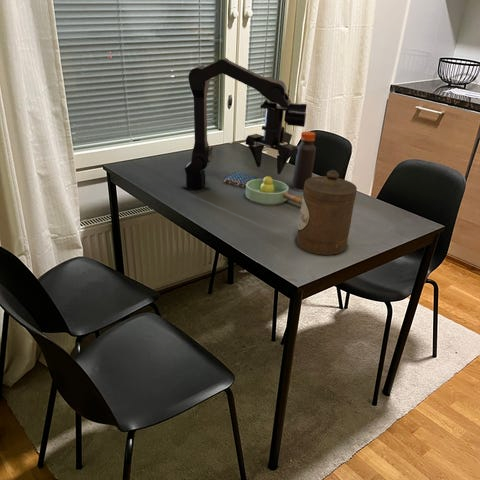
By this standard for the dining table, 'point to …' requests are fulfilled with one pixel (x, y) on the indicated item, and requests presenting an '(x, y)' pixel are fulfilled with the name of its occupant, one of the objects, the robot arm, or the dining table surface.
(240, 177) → the woven mat
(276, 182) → the pan
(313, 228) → the wooden container
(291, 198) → the pan handle
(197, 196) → the dining table surface
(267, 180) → the pear
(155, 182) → the dining table surface
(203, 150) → the robot arm
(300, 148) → the bottle
